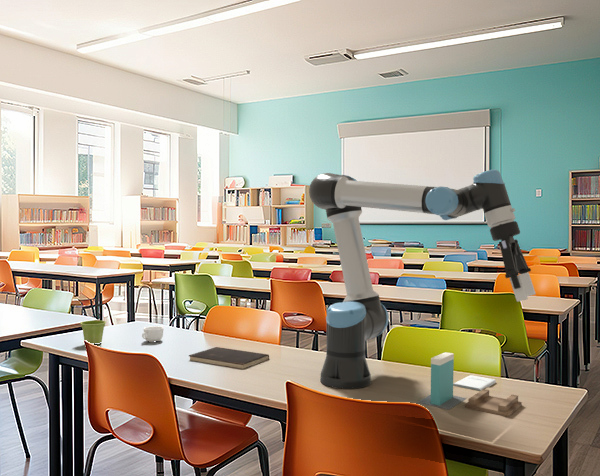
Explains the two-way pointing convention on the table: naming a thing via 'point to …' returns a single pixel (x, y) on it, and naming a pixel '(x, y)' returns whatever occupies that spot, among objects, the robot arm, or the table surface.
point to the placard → (442, 378)
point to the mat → (445, 405)
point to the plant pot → (93, 330)
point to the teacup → (153, 333)
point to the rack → (493, 403)
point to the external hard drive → (475, 382)
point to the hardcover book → (229, 357)
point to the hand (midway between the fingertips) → (526, 298)
